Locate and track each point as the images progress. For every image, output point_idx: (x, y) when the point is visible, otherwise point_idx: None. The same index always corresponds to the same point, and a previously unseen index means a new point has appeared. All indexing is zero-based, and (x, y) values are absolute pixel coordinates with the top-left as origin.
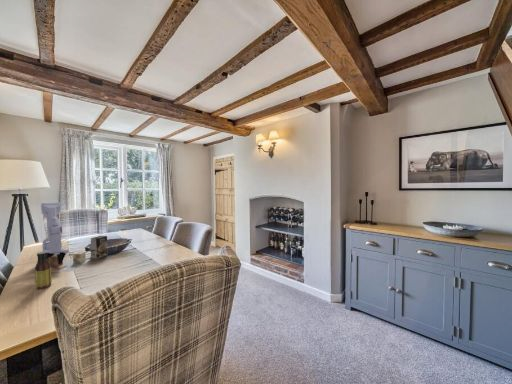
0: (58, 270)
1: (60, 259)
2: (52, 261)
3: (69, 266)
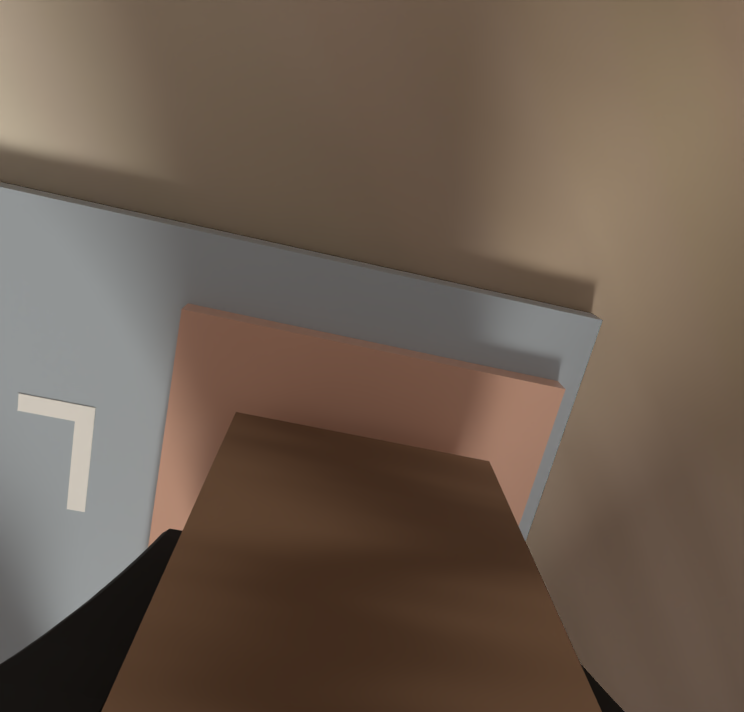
0: (182, 324)
1: (31, 656)
2: (382, 581)
3: (58, 583)
